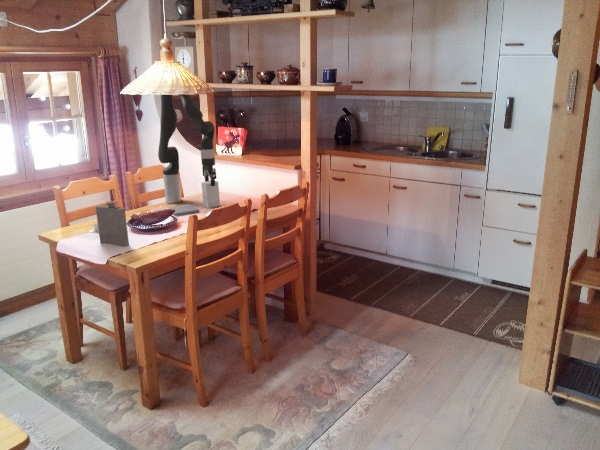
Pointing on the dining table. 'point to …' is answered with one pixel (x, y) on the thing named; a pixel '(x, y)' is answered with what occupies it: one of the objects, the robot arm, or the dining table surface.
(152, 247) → the dining table surface
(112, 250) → the dining table surface
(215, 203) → the skincare box
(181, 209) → the slate board
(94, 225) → the teacup and saucer
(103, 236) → the hip flask
